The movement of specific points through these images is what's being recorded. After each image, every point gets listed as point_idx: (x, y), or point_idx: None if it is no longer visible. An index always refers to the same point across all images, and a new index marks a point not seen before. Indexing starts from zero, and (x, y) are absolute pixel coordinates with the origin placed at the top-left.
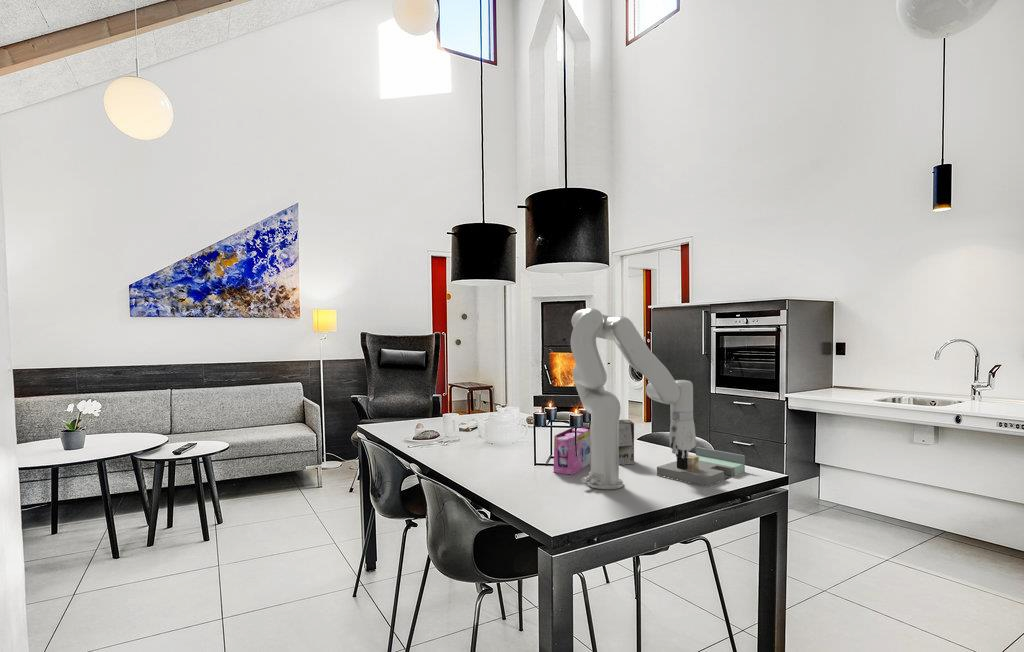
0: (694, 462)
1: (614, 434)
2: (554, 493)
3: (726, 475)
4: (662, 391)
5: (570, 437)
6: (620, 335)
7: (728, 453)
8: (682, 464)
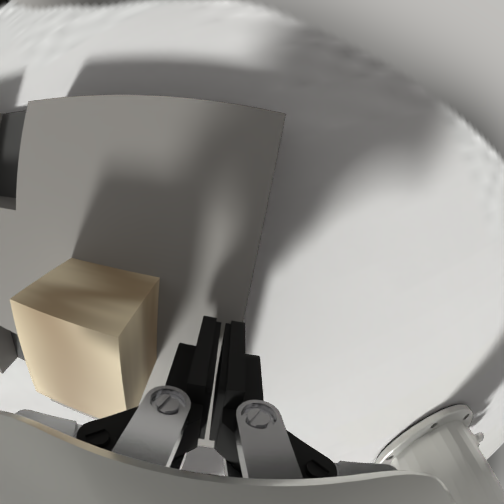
0: (96, 300)
1: None
2: (487, 434)
3: (6, 133)
4: None
5: None
6: None
7: None
8: (248, 365)
